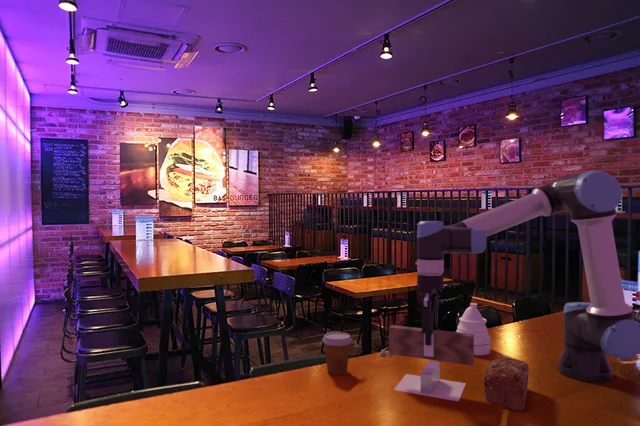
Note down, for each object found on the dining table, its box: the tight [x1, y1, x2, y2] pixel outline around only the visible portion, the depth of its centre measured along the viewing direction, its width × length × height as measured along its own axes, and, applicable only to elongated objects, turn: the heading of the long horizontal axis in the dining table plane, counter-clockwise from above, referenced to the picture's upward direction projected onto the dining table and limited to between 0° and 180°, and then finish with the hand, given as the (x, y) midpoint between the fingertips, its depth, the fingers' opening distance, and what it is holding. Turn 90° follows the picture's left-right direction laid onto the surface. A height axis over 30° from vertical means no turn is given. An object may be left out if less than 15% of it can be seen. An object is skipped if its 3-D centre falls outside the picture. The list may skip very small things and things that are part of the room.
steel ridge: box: [420, 360, 441, 395], centre depth 130 cm, size 3×12×6 cm, turn 154°
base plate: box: [393, 373, 467, 402], centre depth 130 cm, size 18×14×2 cm
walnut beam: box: [388, 324, 475, 366], centre depth 130 cm, size 24×3×8 cm, turn 64°
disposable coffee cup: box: [322, 331, 353, 376], centre depth 147 cm, size 10×10×12 cm
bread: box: [483, 356, 530, 412], centre depth 127 cm, size 19×11×10 cm, turn 152°
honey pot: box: [455, 302, 491, 356], centre depth 170 cm, size 13×13×18 cm
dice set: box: [379, 349, 393, 358], centre depth 164 cm, size 5×5×2 cm
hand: (430, 353), depth 130 cm, fingers closed on walnut beam, 3 cm apart
